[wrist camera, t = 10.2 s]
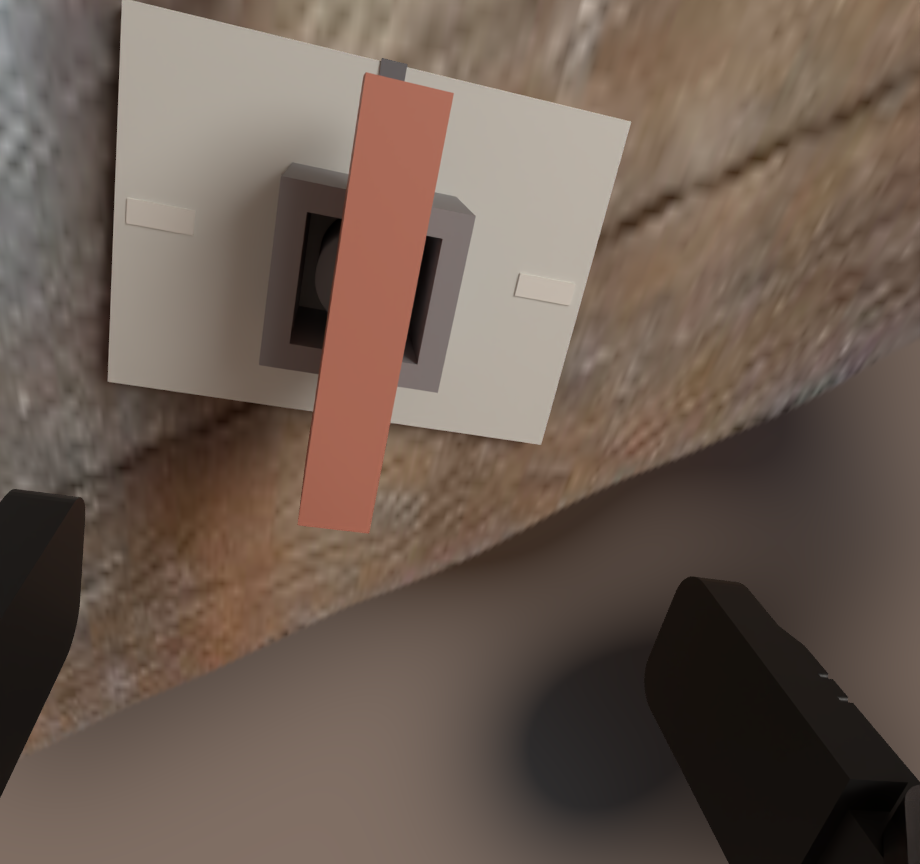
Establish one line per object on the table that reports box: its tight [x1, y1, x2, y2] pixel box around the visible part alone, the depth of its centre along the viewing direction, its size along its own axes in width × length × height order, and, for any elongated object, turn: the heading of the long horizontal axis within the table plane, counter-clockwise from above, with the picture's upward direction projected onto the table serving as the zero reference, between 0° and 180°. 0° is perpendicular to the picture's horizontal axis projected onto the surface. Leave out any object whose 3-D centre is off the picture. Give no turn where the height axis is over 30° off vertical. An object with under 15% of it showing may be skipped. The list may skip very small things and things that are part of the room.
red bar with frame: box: [259, 72, 476, 533], centre depth 28 cm, size 14×7×10 cm, turn 168°
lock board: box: [108, 0, 631, 445], centre depth 31 cm, size 20×15×6 cm
